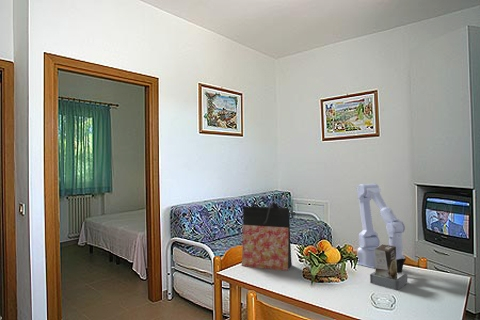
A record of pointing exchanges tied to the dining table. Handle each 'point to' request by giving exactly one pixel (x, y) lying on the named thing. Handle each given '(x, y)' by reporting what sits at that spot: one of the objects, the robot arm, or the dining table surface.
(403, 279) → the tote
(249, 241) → the gift bag
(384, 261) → the coffee box
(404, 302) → the dining table surface
